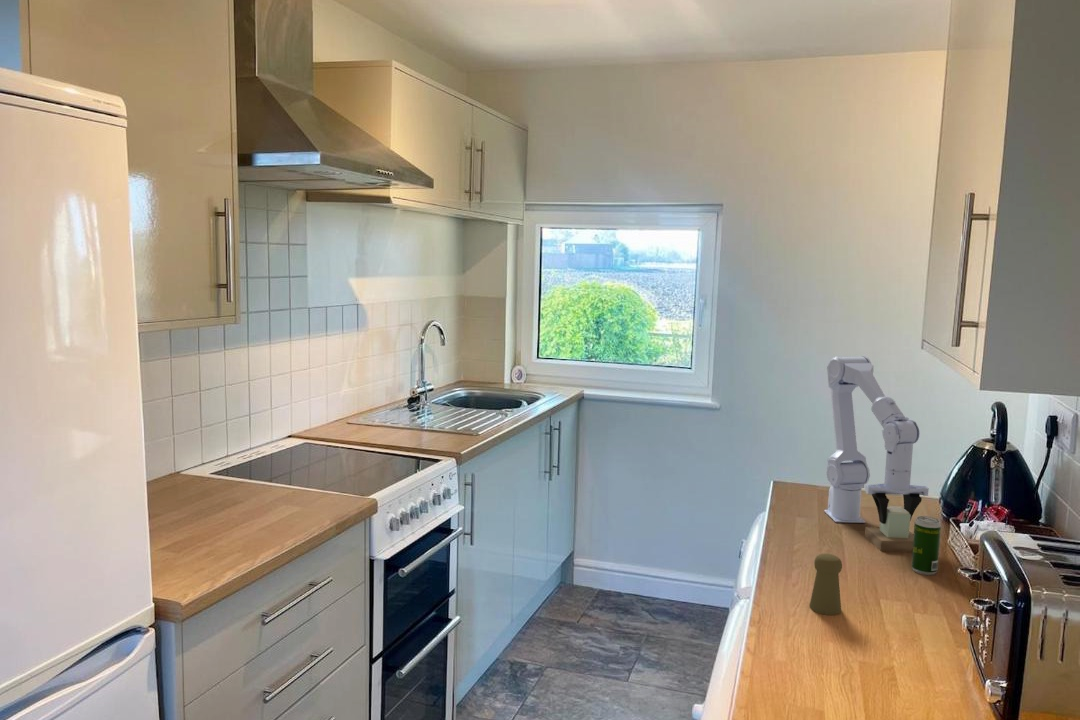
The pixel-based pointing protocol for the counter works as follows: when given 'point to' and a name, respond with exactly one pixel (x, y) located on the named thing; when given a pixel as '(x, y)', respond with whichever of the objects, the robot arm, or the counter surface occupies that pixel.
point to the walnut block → (888, 540)
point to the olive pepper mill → (826, 585)
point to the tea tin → (896, 522)
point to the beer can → (926, 545)
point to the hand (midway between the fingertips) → (894, 522)
